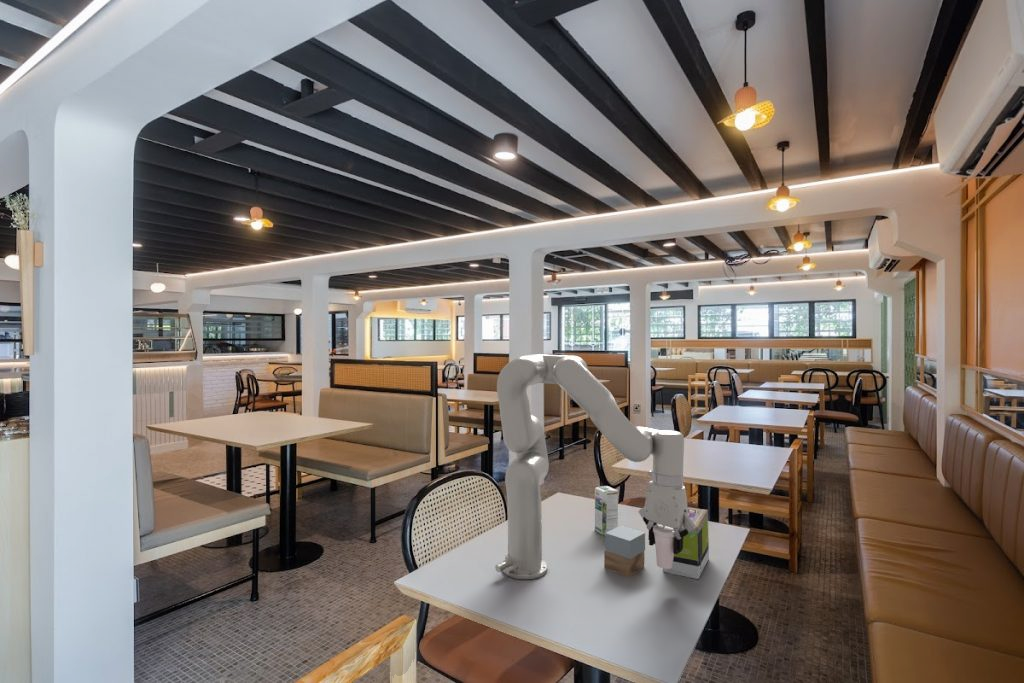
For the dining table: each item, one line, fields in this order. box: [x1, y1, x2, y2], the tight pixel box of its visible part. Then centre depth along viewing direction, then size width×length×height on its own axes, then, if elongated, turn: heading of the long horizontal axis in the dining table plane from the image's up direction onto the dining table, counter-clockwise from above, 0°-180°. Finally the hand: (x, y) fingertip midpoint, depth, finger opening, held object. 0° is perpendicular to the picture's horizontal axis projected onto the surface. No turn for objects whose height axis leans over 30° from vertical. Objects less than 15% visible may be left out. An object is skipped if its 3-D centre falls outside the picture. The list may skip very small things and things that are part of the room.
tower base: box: [603, 550, 645, 578], centre depth 147 cm, size 8×8×5 cm
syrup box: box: [594, 485, 619, 537], centre depth 173 cm, size 6×6×14 cm
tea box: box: [662, 506, 710, 580], centre depth 148 cm, size 15×10×15 cm, turn 149°
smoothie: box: [653, 523, 676, 569], centre depth 134 cm, size 6×6×14 cm
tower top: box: [604, 525, 646, 559], centre depth 147 cm, size 8×8×5 cm
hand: (665, 547), depth 134 cm, fingers closed on smoothie, 6 cm apart
